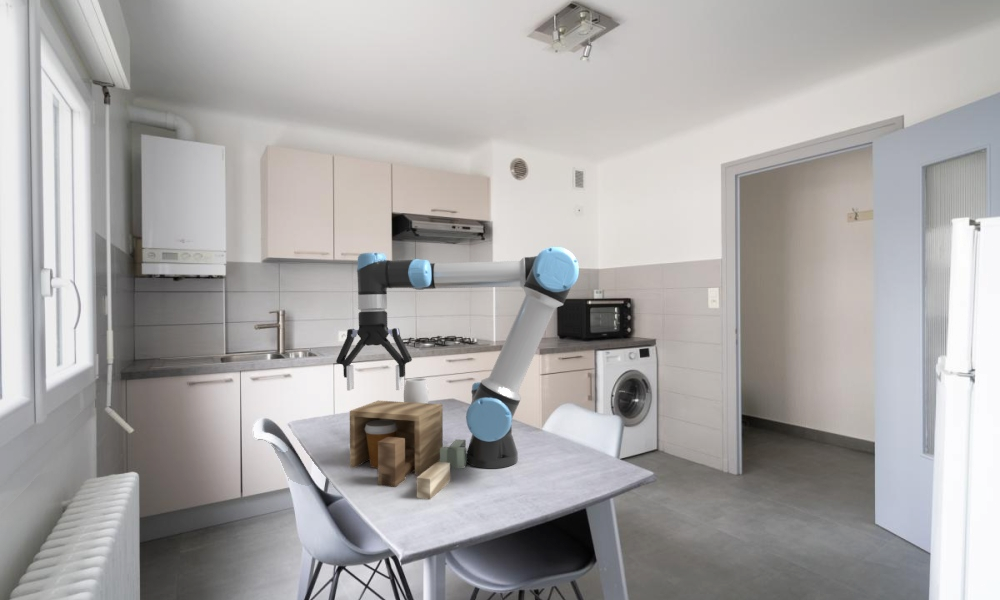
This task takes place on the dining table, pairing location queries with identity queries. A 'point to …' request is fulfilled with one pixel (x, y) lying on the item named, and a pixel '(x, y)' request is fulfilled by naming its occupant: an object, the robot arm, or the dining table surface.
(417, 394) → the wineglass
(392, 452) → the crook
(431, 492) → the beech stick
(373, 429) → the disposable coffee cup
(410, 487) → the dining table surface
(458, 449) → the tee stick
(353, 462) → the wooden storage bin
